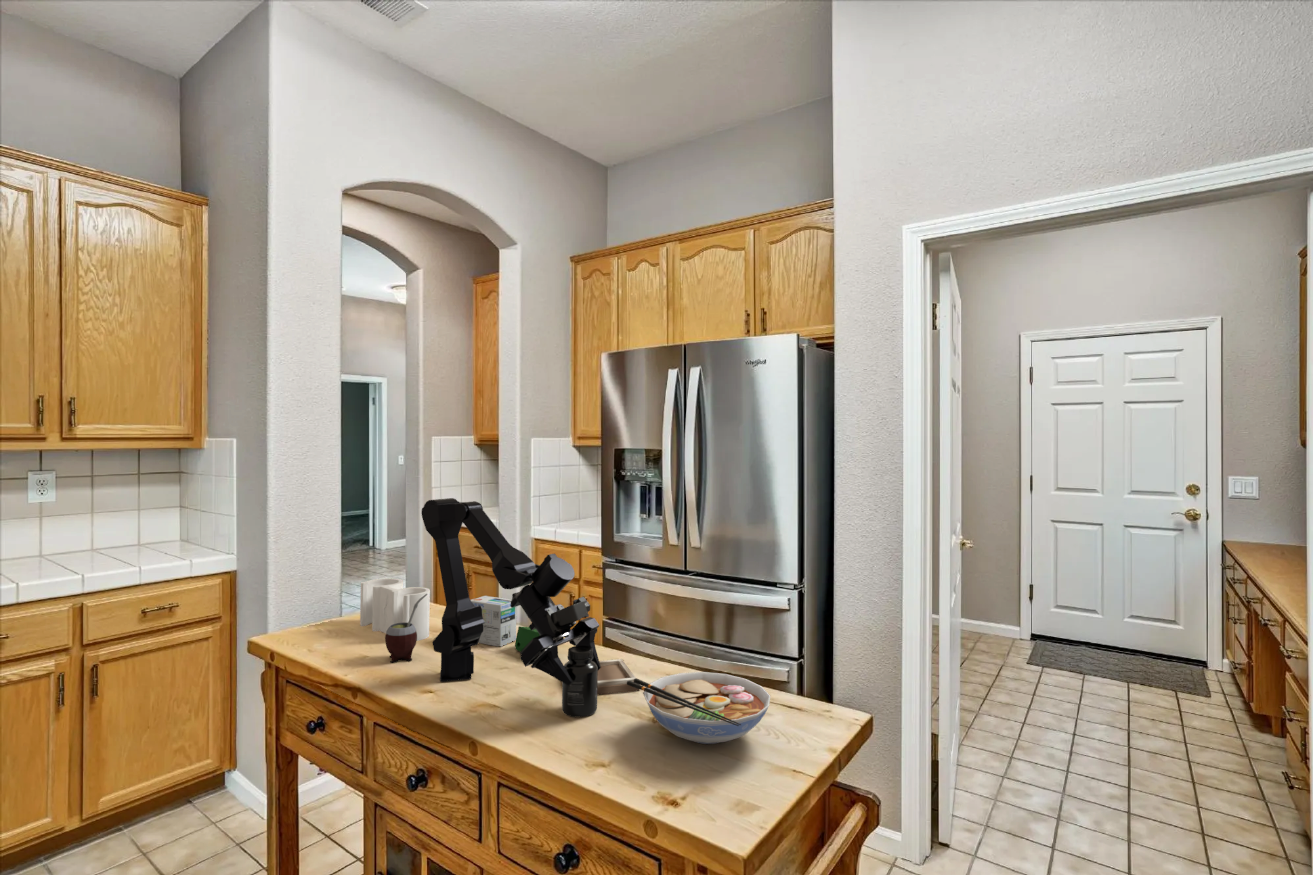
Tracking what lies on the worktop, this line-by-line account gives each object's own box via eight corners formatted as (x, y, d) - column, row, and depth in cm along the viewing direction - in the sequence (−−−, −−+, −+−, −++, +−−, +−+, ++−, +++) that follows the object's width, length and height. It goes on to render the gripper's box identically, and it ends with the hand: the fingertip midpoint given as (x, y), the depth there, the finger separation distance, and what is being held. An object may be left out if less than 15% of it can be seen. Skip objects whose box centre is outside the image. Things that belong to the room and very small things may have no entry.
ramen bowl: (801, 739, 116) (802, 693, 116) (717, 784, 100) (718, 731, 100) (697, 697, 134) (697, 658, 134) (612, 731, 118) (612, 685, 118)
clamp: (553, 672, 160) (569, 640, 159) (534, 672, 155) (551, 640, 154) (528, 643, 168) (544, 612, 167) (510, 642, 163) (526, 611, 163)
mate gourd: (378, 661, 152) (379, 597, 152) (402, 651, 160) (403, 590, 160) (403, 666, 150) (404, 600, 150) (427, 655, 157) (428, 593, 157)
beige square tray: (573, 697, 133) (573, 685, 133) (562, 673, 147) (562, 663, 147) (639, 690, 137) (639, 679, 137) (623, 668, 151) (623, 658, 151)
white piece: (438, 636, 173) (438, 590, 173) (403, 644, 166) (404, 596, 166) (390, 618, 189) (391, 576, 189) (357, 625, 182) (358, 581, 182)
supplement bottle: (604, 711, 127) (605, 649, 127) (577, 721, 122) (578, 657, 122) (581, 700, 131) (582, 641, 132) (554, 710, 126) (555, 648, 127)
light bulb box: (517, 640, 170) (517, 599, 170) (500, 647, 164) (501, 604, 164) (484, 634, 175) (485, 594, 175) (467, 641, 169) (468, 599, 169)
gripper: (532, 595, 121) (579, 666, 115) (592, 578, 137) (636, 639, 131) (500, 631, 125) (544, 701, 119) (562, 610, 141) (603, 671, 135)
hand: (585, 676), depth 126 cm, fingers open, 9 cm apart
